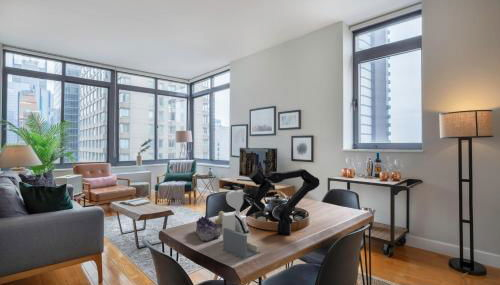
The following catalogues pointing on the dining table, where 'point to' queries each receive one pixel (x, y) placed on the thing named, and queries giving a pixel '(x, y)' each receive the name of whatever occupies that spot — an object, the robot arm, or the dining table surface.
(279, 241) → the dining table surface
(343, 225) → the dining table surface
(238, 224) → the hinge
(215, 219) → the beige lumpy piece
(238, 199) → the heart sculpture
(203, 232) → the geode
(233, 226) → the white tapered vase
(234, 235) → the bookend
